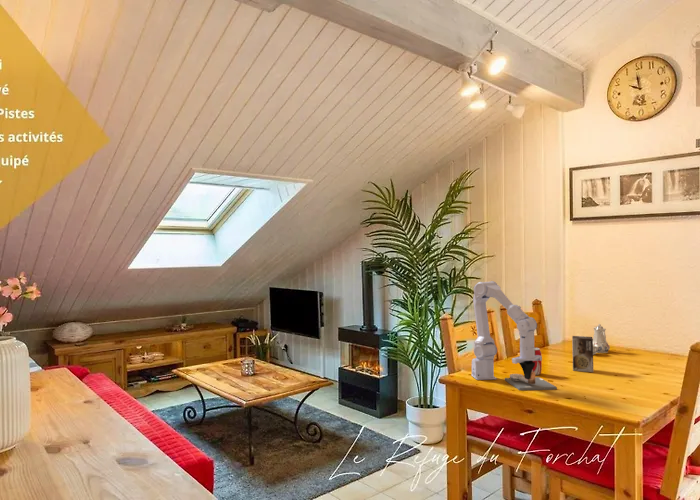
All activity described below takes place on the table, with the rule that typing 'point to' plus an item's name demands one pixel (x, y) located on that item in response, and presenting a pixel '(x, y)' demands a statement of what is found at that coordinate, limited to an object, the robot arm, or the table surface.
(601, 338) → the chinaware
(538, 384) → the base plate
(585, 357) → the coffee box
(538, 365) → the soda can
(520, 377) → the crank handle
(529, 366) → the robot arm
